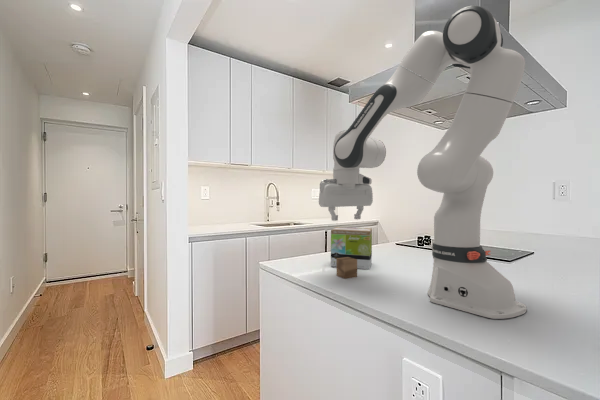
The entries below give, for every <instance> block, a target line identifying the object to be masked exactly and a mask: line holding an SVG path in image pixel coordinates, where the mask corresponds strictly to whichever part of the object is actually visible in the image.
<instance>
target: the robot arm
mask: <svg viewBox="0 0 600 400" xmlns="http://www.w3.org/2000/svg"><path fill="white" fill-rule="evenodd" d="M502 34H503V33H502V32H501V29H500V24H499V23H498V21H497V20H496V18H495V17H494V15H493V14H492V13H491V11H489V10H488V9H487V8H485V7H483V6H480V5H467V6H465V7H462V8H460V9H458V10H456V11H455V12H454V13H452V15H450V17H449V18H448V20H446V23H445V25H444V28H443V31H442V32H441V31H439V30H428V31H427V30H426V31H424V32H422V34H420V36H419V37H418V38H417V39H416V40H415V41H414V43H413V44H412V45H411V47H409V49H408V51H407V52H406V54H405V55H404V56H403V58H402V59H401V61H400V63H399V64H398V66H397V68H396V69H395V71H394V72H393V74H392V75H391V76H390V78H389V79H388V80H387V81H386V82H385V83H384V84H383V85H382V86H380V87H379V88H378V89H376V91H375V92H374V93H373V94H372V96H371V97H370V98H369V100H368V101H367V102H366V104H365V105H364V106H363V108H362V109H361V111H360V112H359V114H358V115H357V116H356V118H355V120H354V121H353V122H352V123H351V125H350V126H349V128H348V129H345V130H342V131H339V132H338V133H337V134H335V136H334V139H333V149H332V159H333V162H334V165H333V168H332V172H333V173H332V178H331V179H329V178H323V180H321V181H320V183H319V193H318V194H319V195H318V205H319V207H321V208H327V209H328V212H329V214H330V216H331V221H333V222H335V221H339V215H337V214H336V212H335V211H336V207H337V208H338V207H339V208H340V207H342V208H343V207H345V208H346V207H356V209H357V211H356V213H354V215H353V217H354V220H361V219H362V218H361V217H362V216H361V215H362V213H363V211H364V207H370V206H372V204H373V202H374V201H373V199H374V198H373V197H374V196H373V194H374V193H373V187H372V186H371V184H372V182H373V181H372V180H373V179H372V178H370V177H369V176H366V175H364V174H362V173H360V169H361V168H362V169H374V168H378V167H379V166H381V165H382V164H384V163H383V162H384V161H385V160H386V159H385V158H386V156H387V155H386V154H387V149H386V146H385V144H384V143H383V141H381V140H380V139H377V138H375V137H374V138H373V137H371V135H372V134H373V132H374V130H375V129H376V128H377V127H378V126H379V125H380V123H381V122H382V120H383V119H384V118H385V117H386V116H387V115H389V114H390V113H393V112H394V111H397V110H400V109H401V110H402V109H405V108H406V109H407V108H411V107H413V106H415V105H418V104H419V103H420V102H421V101H422V100H423V99H424V98H426V96H428V94H429V92H430V91H431V90H432V88H433V86H434V84H435V83H436V82H437V81H438V79H439V77H440V76H441V75H442V73H443V72H444V70H446V69H447V68H448V67H450V66H451V65H452V66H453V67H455V68H463V69H469V70H470V77H469V80H468V83H467V86H466V87H465V91H464V93H463V96H462V98H461V100H460V102H459V106H458V108H457V110H456V112H455V114H454V117H453V119H452V122H451V123H450V126H449V127H448V129H447V130H446V132H445V133H444V135H443V136H442V137H441V139H440V140H439V142H438V143H437V144H436V146H435V147H433V149H432V150H431V151H429V152H428V153H426V154H425V155H424V156H423V157H422V158H421V159H420V161H419V162H418V165H417V168H416V169H417V170H416V171H417V172H416V173H417V178H418V180H419V182H420V184H421V185H422V186H423V187H425V188H427V189H429V190H431V191H434V192H437V193H440V194H441V193H442V194H443V196H442V200H441V203H440V205H439V207H438V209H437V210H436V211H435V213H434V216H433V243H432V245H431V246H432V247H431V250H432V251H431V252H432V253H431V254H432V258H433V263H432V265H433V266H432V274H431V280H430V283H429V284H430V285H429V288H428V291H427V295H428V296H429V297H430V298H429V301H430V302H431V303H432V304H433V303H434V304H437V305H441V306H445V307H448V308H452V309H456V310H459V311H463V312H466V313H470V314H473V315H477V316H480V317H483V318H488V319H494V320H498V319H499V320H502V319H504V320H505V319H511V318H515V317H519V316H522V315H524V314H525V313H526V312H527V305H526V304H525V303H523V302H519V301H517V300H516V295H515V290H514V287H513V283H512V282H511V281H510V280H509V279H508V278H507V277H505V276H504V275H503V274H502V273H501V272H499V270H497V269H496V268H495V267H494V266H492V264H491V263H489V262H488V261H487V260H488V259H487V256H491V252H492V251H491V250H484V248H483V247H482V245H481V217H482V216H481V215H482V209H483V205H484V200H485V197H486V193H487V188H488V186H489V185H490V183H491V182H492V180H493V178H494V177H493V176H494V169H493V166H492V164H491V163H490V162H489V161H488V160H487V159H485V158H484V157H483V156H481V155H482V154H483V152H484V150H485V149H486V148H487V147H488V145H489V144H491V142H492V141H494V140H495V139H496V138H497V137H499V134H500V132H501V130H502V128H503V126H504V124H505V122H506V119H507V117H508V115H509V113H510V111H511V108H512V106H513V104H514V102H515V100H516V97H517V94H518V91H519V89H520V86H521V83H522V80H523V77H524V73H525V68H526V60H525V57H524V56H523V55H522V54H521V53H519V52H518V51H516V50H514V49H511V48H504V47H503V43H504V37H503V35H502Z"/></svg>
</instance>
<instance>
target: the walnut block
mask: <svg viewBox="0 0 600 400" xmlns="http://www.w3.org/2000/svg"><path fill="white" fill-rule="evenodd" d="M336 266H337V267H336V276H337V277H339V278H342V279H344V280H346V279H353V278H357V277H358V268H357V259H354V258H350V257H343V258H336Z"/></svg>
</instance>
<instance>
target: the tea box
mask: <svg viewBox="0 0 600 400" xmlns="http://www.w3.org/2000/svg"><path fill="white" fill-rule="evenodd" d="M372 237H373V228H372V227H370V228H369V227H350V226H348V227H347V226H335V227H333V228H331V230H330V268H332V267H334V268H335V267H336V268H337V266H336V258H343V257H350V258H354V259H357V269H359V270H361V269H362V270H370V268H371V265H372V257H373V255H372V254H373V249H372V248H373V247H372V246H373V238H372Z"/></svg>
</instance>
